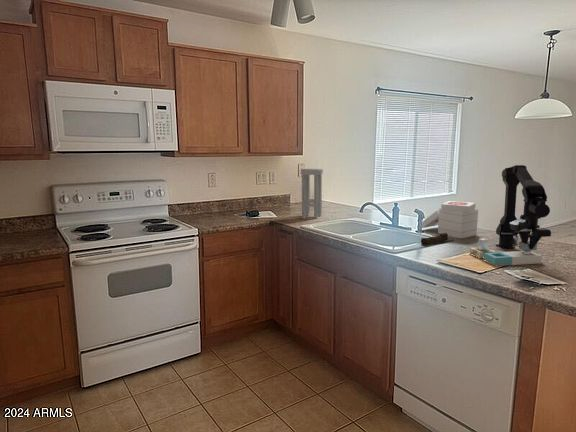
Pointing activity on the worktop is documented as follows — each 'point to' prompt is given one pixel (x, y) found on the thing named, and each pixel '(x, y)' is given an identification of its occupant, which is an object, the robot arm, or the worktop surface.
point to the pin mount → (480, 252)
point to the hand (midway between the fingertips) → (527, 248)
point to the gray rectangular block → (526, 247)
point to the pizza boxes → (454, 219)
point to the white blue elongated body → (514, 239)
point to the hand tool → (435, 239)
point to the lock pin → (483, 244)
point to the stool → (306, 191)
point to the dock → (512, 258)
